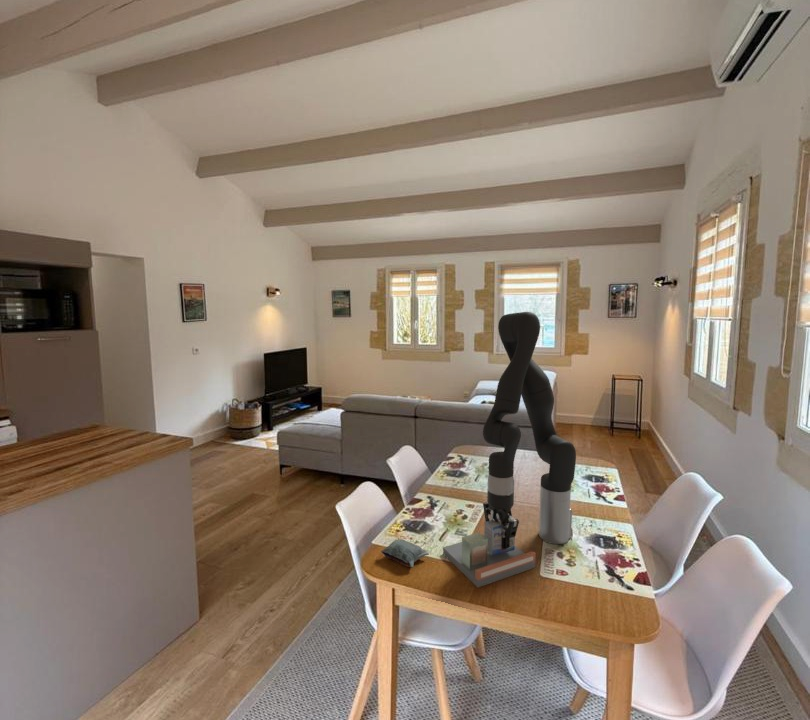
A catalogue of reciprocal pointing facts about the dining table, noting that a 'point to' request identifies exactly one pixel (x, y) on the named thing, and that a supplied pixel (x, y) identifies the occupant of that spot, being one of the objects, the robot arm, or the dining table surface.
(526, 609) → the dining table surface
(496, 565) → the shelf
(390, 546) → the grey bean bag
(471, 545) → the sage tin
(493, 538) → the medicine box
